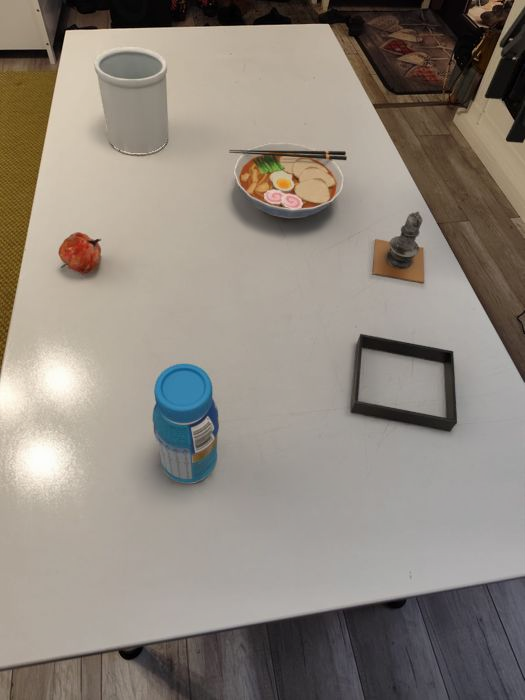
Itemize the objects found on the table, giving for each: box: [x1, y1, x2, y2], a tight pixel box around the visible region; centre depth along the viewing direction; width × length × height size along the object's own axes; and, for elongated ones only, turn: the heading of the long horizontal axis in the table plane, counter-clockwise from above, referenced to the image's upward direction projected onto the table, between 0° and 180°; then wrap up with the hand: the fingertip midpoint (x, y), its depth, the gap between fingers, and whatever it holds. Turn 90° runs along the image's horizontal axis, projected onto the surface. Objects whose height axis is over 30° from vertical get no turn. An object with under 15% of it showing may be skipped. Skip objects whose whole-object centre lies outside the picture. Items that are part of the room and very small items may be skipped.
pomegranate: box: [58, 231, 102, 275], centre depth 94 cm, size 7×7×10 cm
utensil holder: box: [93, 46, 169, 156], centre depth 115 cm, size 15×15×18 cm
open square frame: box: [350, 333, 458, 432], centre depth 86 cm, size 16×14×3 cm
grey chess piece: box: [386, 211, 423, 269], centre depth 99 cm, size 6×6×12 cm
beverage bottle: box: [152, 363, 220, 484], centre depth 68 cm, size 8×8×20 cm
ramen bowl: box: [228, 141, 348, 220], centre depth 109 cm, size 25×23×8 cm
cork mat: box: [372, 238, 425, 284], centre depth 104 cm, size 10×10×1 cm
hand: (502, 118), depth 89 cm, fingers open, 13 cm apart
